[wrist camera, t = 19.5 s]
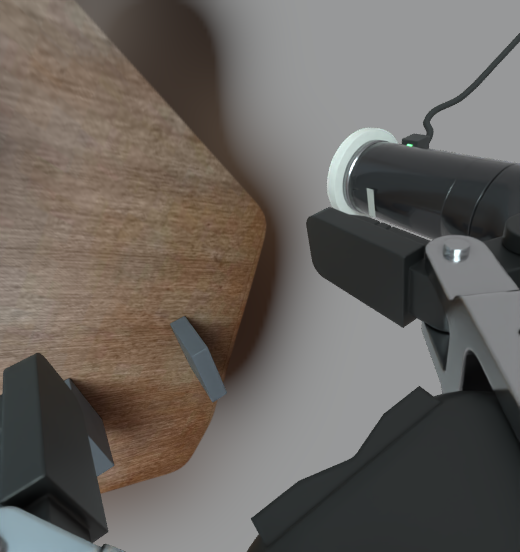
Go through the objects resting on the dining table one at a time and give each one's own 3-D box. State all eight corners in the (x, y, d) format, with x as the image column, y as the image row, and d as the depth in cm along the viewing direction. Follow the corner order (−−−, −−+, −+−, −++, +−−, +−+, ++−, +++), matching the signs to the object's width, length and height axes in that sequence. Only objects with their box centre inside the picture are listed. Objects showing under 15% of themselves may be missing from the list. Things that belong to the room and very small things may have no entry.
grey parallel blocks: (184, 315, 45) (207, 347, 39) (204, 359, 49) (227, 393, 44) (50, 387, 39) (56, 435, 34) (86, 429, 44) (96, 477, 39)
